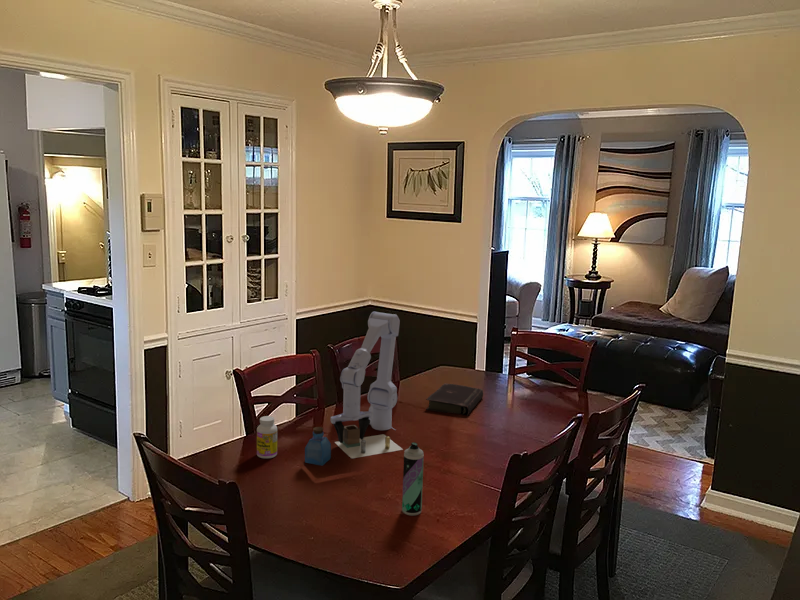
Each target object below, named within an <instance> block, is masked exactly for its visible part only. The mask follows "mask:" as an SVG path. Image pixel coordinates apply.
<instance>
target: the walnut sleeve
mask: <svg viewBox="0 0 800 600" xmlns="http://www.w3.org/2000/svg"><path fill="white" fill-rule="evenodd" d="M342 444H344V445H345V446H346V447H347V448H350V447H356V446H360V429H359V426H357V425H356V424H350V425H344V430H343V443H342Z"/></svg>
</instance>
